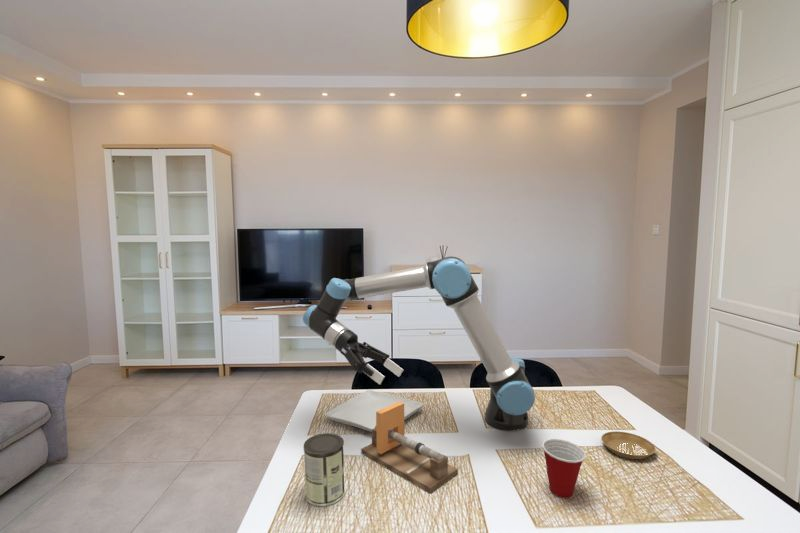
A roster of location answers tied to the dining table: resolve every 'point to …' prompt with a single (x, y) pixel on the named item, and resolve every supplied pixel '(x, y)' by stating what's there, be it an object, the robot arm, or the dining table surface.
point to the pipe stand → (412, 461)
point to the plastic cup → (562, 465)
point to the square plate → (369, 409)
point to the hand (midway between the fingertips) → (392, 376)
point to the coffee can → (324, 469)
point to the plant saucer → (617, 438)
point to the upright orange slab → (389, 425)
